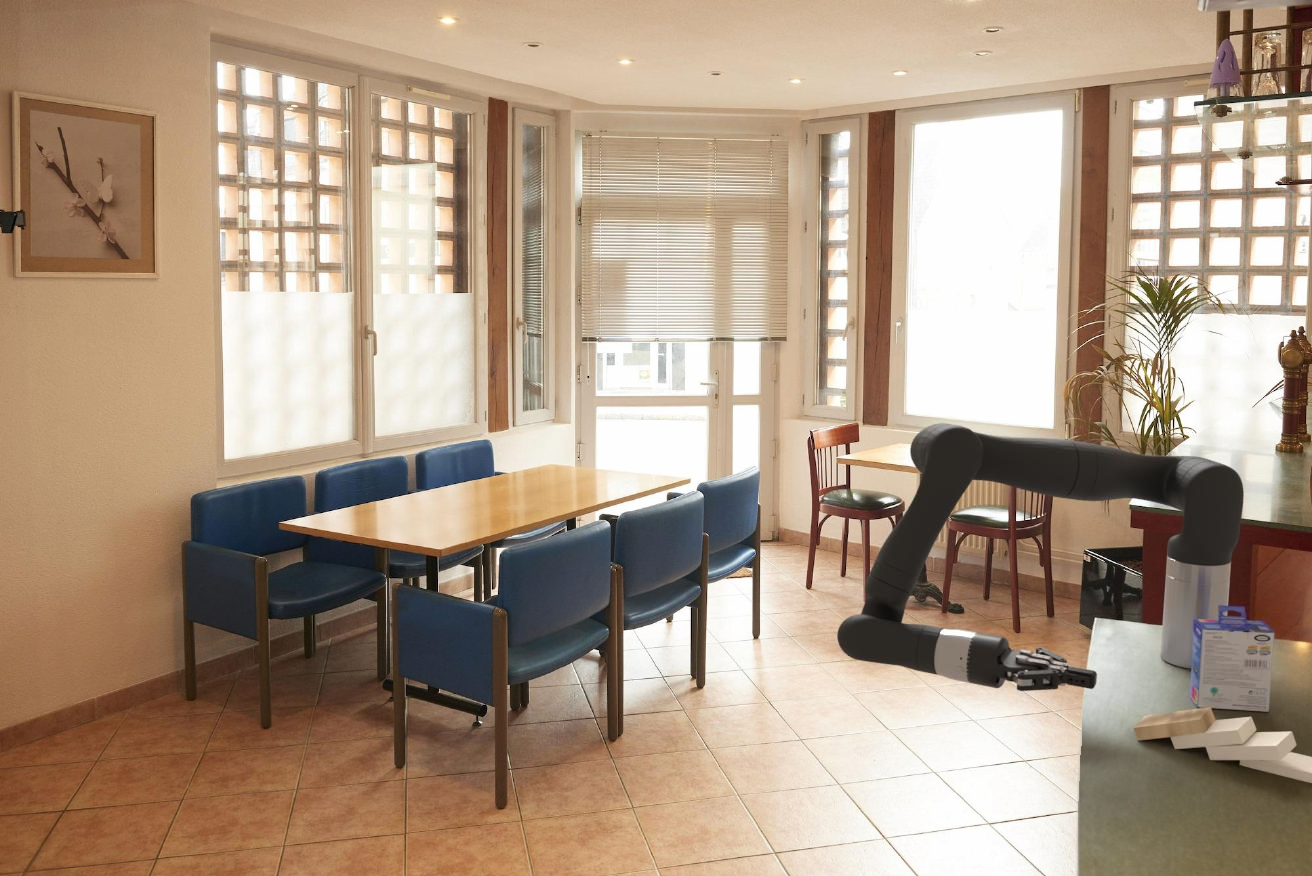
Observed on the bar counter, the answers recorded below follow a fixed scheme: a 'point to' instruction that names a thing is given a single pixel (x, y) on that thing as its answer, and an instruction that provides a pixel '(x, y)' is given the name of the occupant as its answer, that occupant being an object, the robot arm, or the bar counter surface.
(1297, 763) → the ivory domino
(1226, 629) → the ink cartridge box
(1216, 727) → the ivory domino
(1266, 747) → the ivory domino
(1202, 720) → the oak domino
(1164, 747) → the bar counter surface
